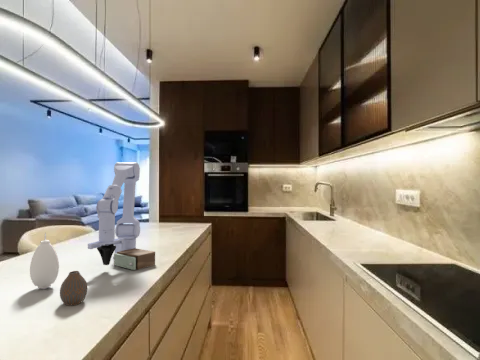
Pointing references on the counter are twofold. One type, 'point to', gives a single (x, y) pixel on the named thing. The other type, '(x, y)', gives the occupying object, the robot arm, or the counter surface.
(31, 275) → the white tall ovoid
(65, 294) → the vase
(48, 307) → the counter surface
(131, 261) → the door
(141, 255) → the brown wooden box
